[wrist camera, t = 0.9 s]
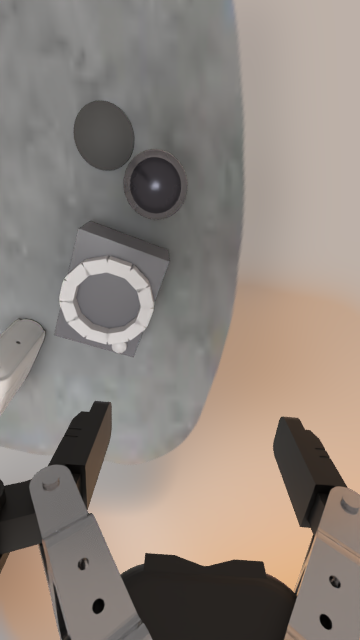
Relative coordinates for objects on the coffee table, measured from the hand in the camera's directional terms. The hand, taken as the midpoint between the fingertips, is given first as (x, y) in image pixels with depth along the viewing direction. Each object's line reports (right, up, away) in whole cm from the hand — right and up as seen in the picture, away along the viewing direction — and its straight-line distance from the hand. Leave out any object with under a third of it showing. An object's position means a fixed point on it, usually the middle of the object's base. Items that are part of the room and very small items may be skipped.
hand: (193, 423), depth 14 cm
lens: (-3, +19, +16) cm, 25 cm away
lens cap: (-8, +23, +14) cm, 28 cm away
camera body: (-8, +9, +21) cm, 24 cm away
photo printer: (-21, +1, +24) cm, 32 cm away
